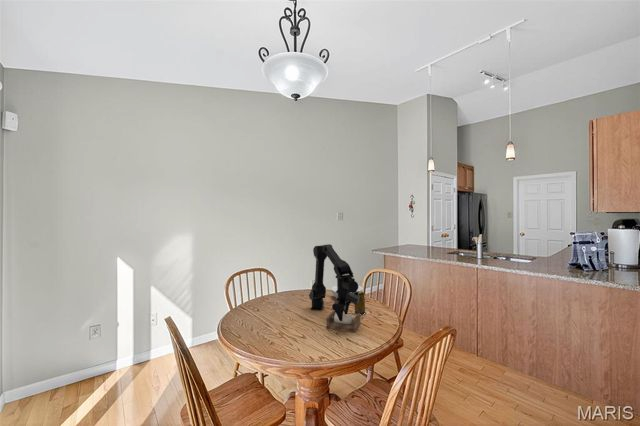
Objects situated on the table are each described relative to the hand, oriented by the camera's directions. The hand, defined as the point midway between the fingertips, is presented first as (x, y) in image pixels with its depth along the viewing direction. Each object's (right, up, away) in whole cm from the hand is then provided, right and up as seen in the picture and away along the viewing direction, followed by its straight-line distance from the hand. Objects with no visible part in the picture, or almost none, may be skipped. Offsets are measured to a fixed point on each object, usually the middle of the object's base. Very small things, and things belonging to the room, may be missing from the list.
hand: (343, 317), depth 156 cm
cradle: (0, -4, 0) cm, 4 cm away
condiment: (+11, -4, +18) cm, 22 cm away
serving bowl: (+6, -3, +46) cm, 47 cm away
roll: (0, -1, 0) cm, 1 cm away
